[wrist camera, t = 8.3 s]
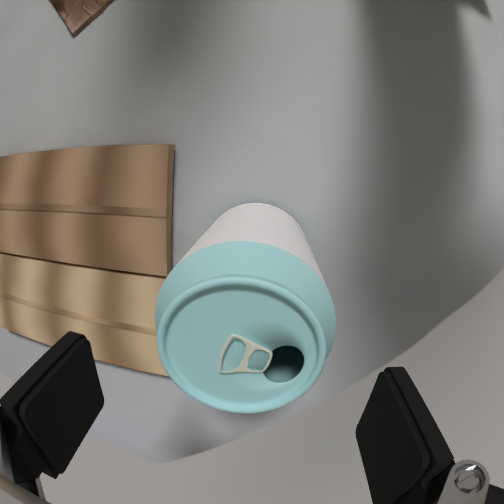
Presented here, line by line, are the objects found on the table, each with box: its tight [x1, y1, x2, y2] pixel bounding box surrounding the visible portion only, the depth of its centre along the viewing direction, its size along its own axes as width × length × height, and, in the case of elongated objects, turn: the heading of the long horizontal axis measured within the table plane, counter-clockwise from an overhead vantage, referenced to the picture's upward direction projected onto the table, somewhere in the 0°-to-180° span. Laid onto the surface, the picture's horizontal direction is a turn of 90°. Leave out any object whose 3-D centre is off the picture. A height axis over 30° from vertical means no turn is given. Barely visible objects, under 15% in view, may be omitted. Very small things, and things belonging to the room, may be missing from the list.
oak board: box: [0, 252, 169, 376], centre depth 23 cm, size 22×9×1 cm, turn 85°
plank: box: [0, 144, 175, 276], centre depth 20 cm, size 22×9×1 cm, turn 85°
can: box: [155, 203, 336, 414], centre depth 15 cm, size 7×7×12 cm
